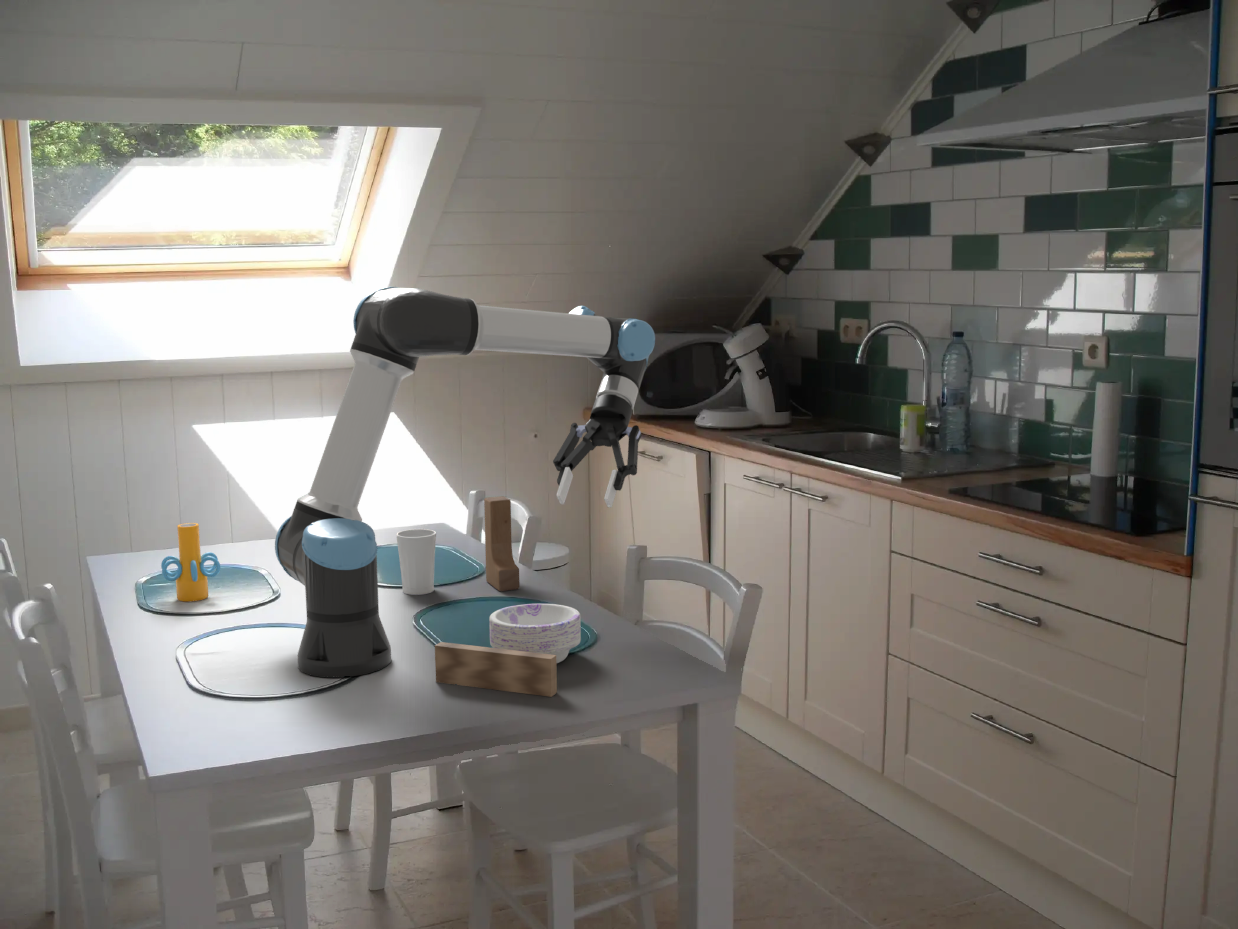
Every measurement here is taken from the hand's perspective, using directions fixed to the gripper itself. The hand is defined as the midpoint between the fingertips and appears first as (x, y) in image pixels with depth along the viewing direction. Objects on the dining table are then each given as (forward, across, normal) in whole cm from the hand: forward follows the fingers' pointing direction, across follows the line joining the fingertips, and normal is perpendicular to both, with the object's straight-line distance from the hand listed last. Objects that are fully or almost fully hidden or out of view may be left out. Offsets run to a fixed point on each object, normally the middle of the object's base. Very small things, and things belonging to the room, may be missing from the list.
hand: (583, 501), depth 217 cm
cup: (+9, +41, -23) cm, 48 cm away
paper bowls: (+32, 0, -1) cm, 32 cm away
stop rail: (+42, 0, +10) cm, 43 cm away
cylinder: (+23, +81, -9) cm, 85 cm away
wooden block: (+3, +26, -30) cm, 40 cm away
